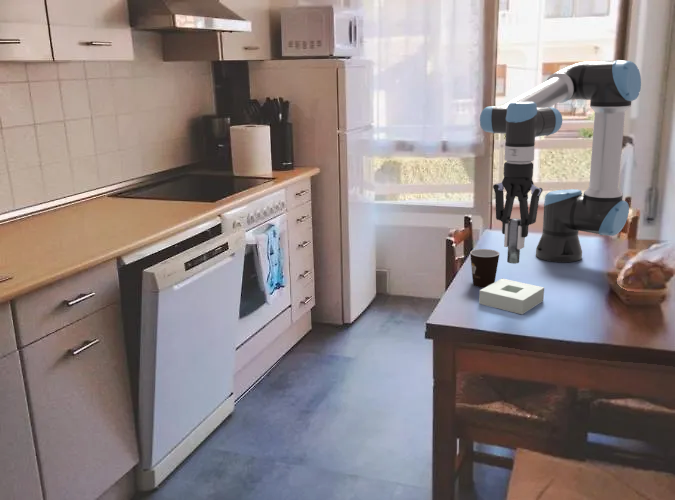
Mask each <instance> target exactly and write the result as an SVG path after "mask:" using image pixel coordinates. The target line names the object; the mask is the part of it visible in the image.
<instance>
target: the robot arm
mask: <svg viewBox="0 0 675 500" xmlns="http://www.w3.org/2000/svg"><path fill="white" fill-rule="evenodd" d="M641 88H642V77H641V73H640V70H639V68H638V66H637V65H636V63H635V62H633V61H631V60H621V59H616V60H599V61H598V60H597V61H596V60H595V61H594V60H592V61H591V60H590V61H586V60H585V61H580V62H578V63H574V64H571V65H569V66H566V67H564V68H561V69H560V70H557V71H555V72H554V73H552V74H550V75H549V76H548V77H547V79H546V81H544V82H542V83H540V84H538V85H537V86H535V87H533V88H530V90H528V91H526V92H524V93H521V94H520V95H518V96H516V97H514V98H513V99H511V100H509V101H507V102H505V103H503V104H501V105H498V106H496V105H491V106H486V107H484V108H483V109H482V111H481V113H480V116H479V122H480V123H479V125H480V128H481V129H482V131H484V132H485V133H491V134H501V135H502V134H504V135H505V142H504V156H503V157H504V161H506V162H504V163H503V179H502V181H501V182H499V183H495V184H493V186H492V188H493V191H494V196H495V197H494V199H495V219H496V220H497V221H499V222H501V223H502V226H501V227H502V228H501V229H502V230H501V233H502V235H504V239H503V241H504V242H503V243H504V244H503V245H504V246H503V247H505V248H508V238H509V220H510V219H511V217H512V211H513V207H514V202H515V199H516V198H517V201H518V204H519V205H518V206H519V214H520V217H519V218H520V219H521V224H520V225H519V226H518V241H517V249H519V250H520V251H521V250H522V249H524V248H525V238H527V237H528V236H529V226H530V225H533V224H535V223H537V216H538V210H539V209H538V207H539V203H540V197H541V194H542V193H543V188H542V187H537V186H536V185H535V184H534V181H533V176H534V163H533V161H534V160H535V143H536V142H535V141H536V138H537V137H543V136H545V137H548V136H551V135H554V134H555V133H556V134H557V132H559V130H561V127H562V125H563V116H562V113H561V112H560V110H559V109H557V108H556V107H553V106H554V105H556V104H558V103H559V104H562V103H566V102H568V101H570V100H571V101H572V100H573V101H574V100H585V101H587V100H588V101H590V103H589V107H590V108H591V109H592V110H593V112H594V116H593V117H594V120H593V133H592V146H591V155H590V156H591V157H590V159H591V161H590V170H589V171H590V172H589V173H590V174H589V183H588V185H589V186H588V188H587V189H585V190H584V191H583V192H582V190H581V189H577V188H575V189H574V188H572V189H557V190H552V191H548V192H547V193H545V197H544V203H543V217H542V233H541V237H540V239H539V241H538V244H537V245H536V248H535V256H536V258H538V259H541V260H544V261H546V262H554V263H574V262H578V261H580V260H582V259H583V258H582V257H583V250H582V245H581V243H580V238H579V232H584V233H585V232H586V233H590V234H595V235H600V236H609V237H610V236H611V237H613V236H616V235H618V234H619V233H620V232H621V231H622V230H623V228H624V227H625V225H626V223H627V220H628V217H629V213H630V206H629V203H628V202H627V201H625V200H623V195H624V194H623V192H622V191H621V190H620V189H619V183H620V171H621V161H622V150H623V149H622V148H623V138H624V127H625V126H624V125H625V115H626V111H627V110H629V109H630V108H631V106H632V102H633V101H635V100H636V99H638V97H639V95H640V91H641ZM504 190H505V192H506V194H505V195H504ZM530 192H531V197H530V203H529V202H528V199H529V193H530ZM504 196H505V197H504ZM504 198H505V201H504Z"/></svg>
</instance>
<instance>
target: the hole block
mask: <svg viewBox="0 0 675 500" xmlns="http://www.w3.org/2000/svg"><path fill="white" fill-rule="evenodd" d="M478 294H479V297H478V298H479V300H478V304H479V305H483V306H487V307H491V308H495V309H499V310H503V311H505V312H511V313H514V314H519V315H524V314H525V313H527V312H528V311H530V310H532V309H533V308H535V307H536V306H537V305H539V304H541V303H542V302H544V300H545V299H544V295H545V287H543V286H538V285H535V284H530V283H526V282H525V283H524V282H521V281H515V280H511V279H506V278H500V279H498V280H497V281H496V280H495V282H494V283H493V284H491V285H489V286H487V287H485V288H481V289H479V293H478Z"/></svg>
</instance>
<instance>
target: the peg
mask: <svg viewBox="0 0 675 500" xmlns="http://www.w3.org/2000/svg"><path fill="white" fill-rule="evenodd" d="M520 224H521V218H514V217H513V218H510V220H509V238H508V247H507V257H506V258H507V261H506V262H507V263H508V264H519V263H520V255H521V253H520V252H521V249H520V250H519V249H517V241H518V226H519V225H520Z"/></svg>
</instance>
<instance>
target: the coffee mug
mask: <svg viewBox="0 0 675 500" xmlns="http://www.w3.org/2000/svg"><path fill="white" fill-rule="evenodd" d="M469 254H470V255H469V256H470V263H471V265H470V267H471V276H472V277H471V278H472V285H473V286H475V287H478V288H481V289H483V288H485V287H487V286H489V285H491V284H493V283H494V282H496V277H497V272H498V271H497V270H498V265H499V260H500V252H499V251H497V250H495V249H488V248H478V249H473V250H471V251H470V253H469Z"/></svg>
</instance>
